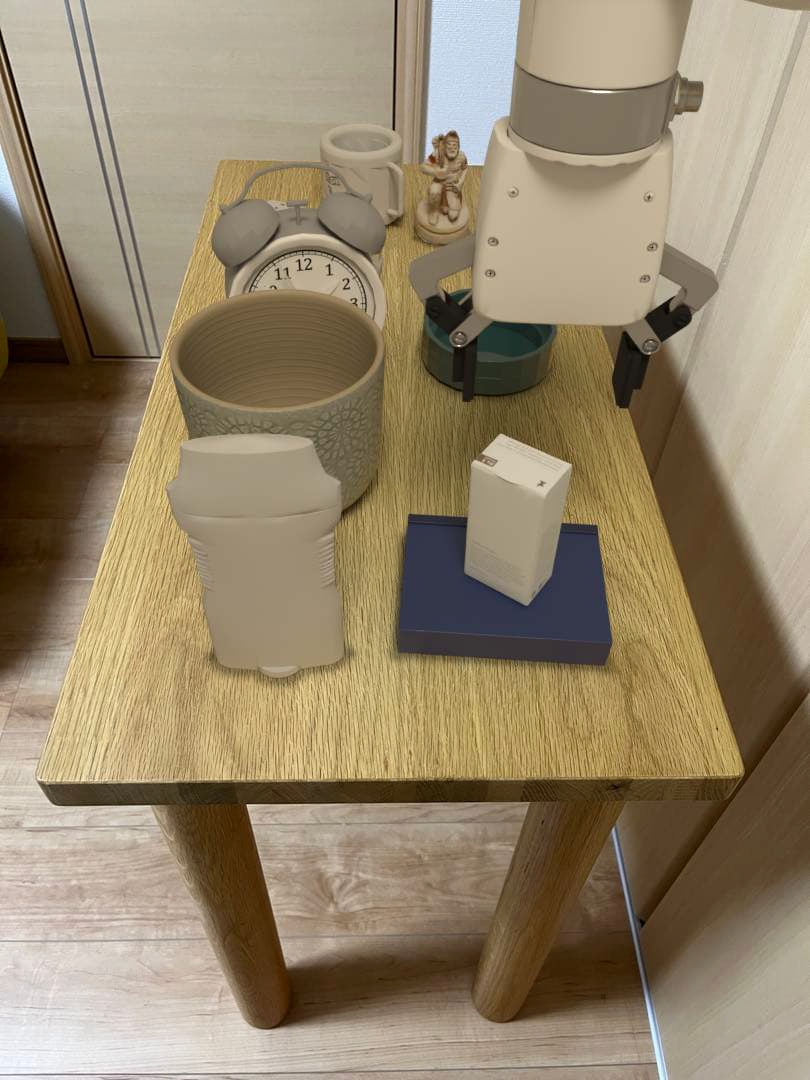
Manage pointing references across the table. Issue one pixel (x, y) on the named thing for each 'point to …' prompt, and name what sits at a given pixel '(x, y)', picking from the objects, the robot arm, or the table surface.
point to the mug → (365, 165)
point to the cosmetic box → (514, 517)
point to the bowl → (494, 354)
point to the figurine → (444, 193)
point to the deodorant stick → (263, 548)
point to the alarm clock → (304, 245)
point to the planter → (287, 376)
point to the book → (502, 600)
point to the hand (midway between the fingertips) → (543, 392)
